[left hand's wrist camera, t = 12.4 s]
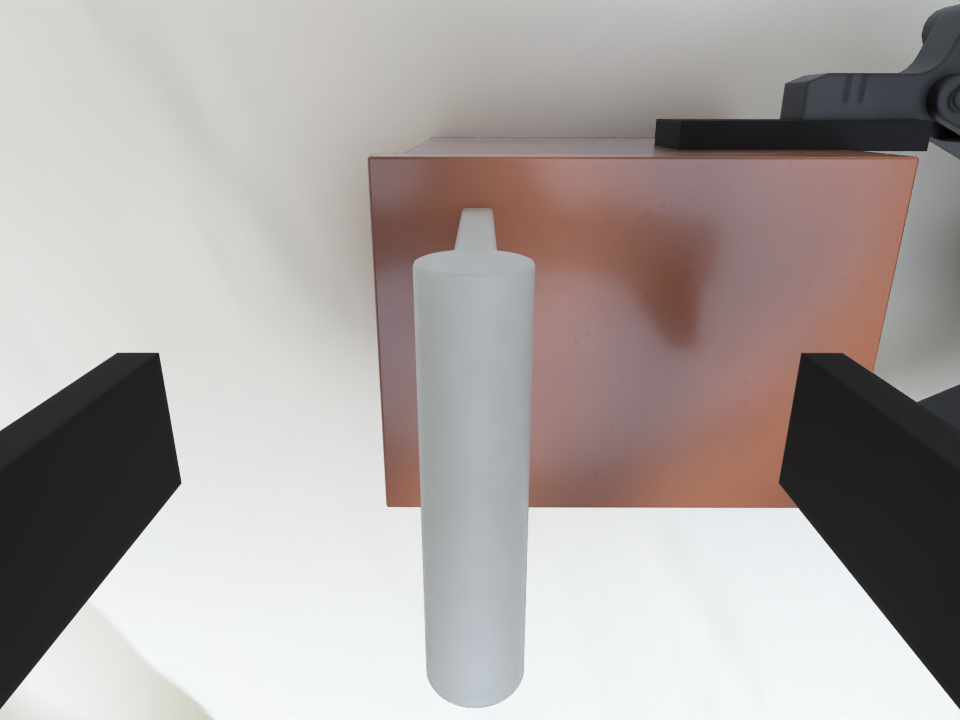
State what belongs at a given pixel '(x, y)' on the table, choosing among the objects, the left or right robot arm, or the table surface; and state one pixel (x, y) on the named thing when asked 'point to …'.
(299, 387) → the table surface
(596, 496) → the lid
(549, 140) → the chest
